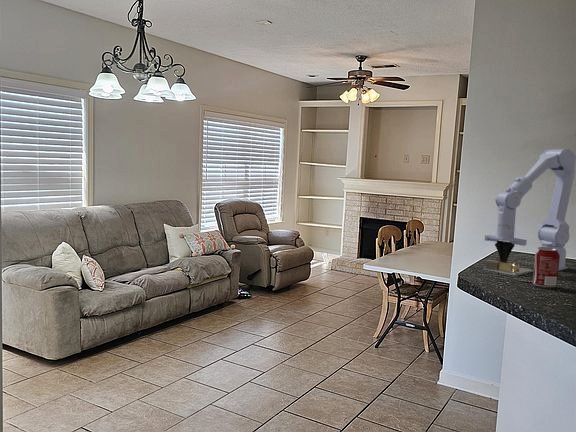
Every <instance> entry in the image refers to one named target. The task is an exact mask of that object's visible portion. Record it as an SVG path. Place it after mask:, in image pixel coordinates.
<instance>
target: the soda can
mask: <svg viewBox="0 0 576 432" xmlns="http://www.w3.org/2000/svg"><path fill="white" fill-rule="evenodd" d="M559 259H560V255H559V253H558V249H555V248H549V247H541V246H538V247H537V250H536V252H535V255H534V263H533V265H534V267H533V277H532V278H533V279H532V284H533V285H535V286H536V287H538V288H542V289H554V288H557V287H558V282H559V281H558V280H559V279H558V278H559V271H560V270H559ZM558 270H559V271H558Z"/></svg>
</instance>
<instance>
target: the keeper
mask: <svg viewBox="0 0 576 432" xmlns="http://www.w3.org/2000/svg"><path fill="white" fill-rule="evenodd" d="M485 262H486V263H485V264H486V265H485V267H486V269H492V270H500V271H506V272H507V270H502V269H498V264H499V263H495V262H489V261H487V260H486V261H485Z"/></svg>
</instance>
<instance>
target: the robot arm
mask: <svg viewBox="0 0 576 432" xmlns="http://www.w3.org/2000/svg"><path fill="white" fill-rule="evenodd" d="M575 164H576V154H575V153H574V151H573V150H571V149H570V148H564V149H563V148H561V149H560V148H559V149H558V148H557V149H551V148H549V149H546V150H544V151H543V153H542V154H540V155H539V159H538V160H537V161H536V162H535V163H534V165H533V166H532V167H531V168H530V169H529V171H528V172H526V174H525V175H524V176H519V177H516V178H515V179H514V182H513V183H512V184H511V185H509V186H508V187H507V188H506V189H505V191H502V192H500V193H499V194H498V195H497V197H496V199H495V204H496V206H497V211H498V213H497V214H498V215H497V228H496V230H497V231H496V235H493V234H492V235H490V234H486V235H484V241H488V242H489V241H491V242H494V247H495V248H496V250H497V253H498V256H499V261H500V262H507V263H508V259H509V257H510V254H511V252H512V250H513V249H514V247H515V245H519V246H521V247H522V246H523V247H525V246H527V240H528V239H524V238H523V239H522V238H518V237H517V238H516V237H515V229H516V226H515V225H516V215H517V214H516V212H517V208H518V207H520V205H521V204H522V203H521V202H522V199H523V198H524V197H525V195H526V194H527V193H528V192H530V190H531V189H532V188H533V183H534V181H536V180H537V179H538V178H539V177H540V176H541V175H542V174H544V173H545V172H546V171H547V170H551V171H552V172H553V174H555V176H556V178H555V179H556V180H555V185H554V188H553V194H552V198H551V203H550V206H549V207H550V208H549V211H548V216H547V218H546V219H544V220H543V221H541V226H540V228H539V229H538V230H537V237H538V239H539V241H540V244H541V246H540V247H549V248H555V249H558V253H559V255H560V259H559V270H558V272H559V271H563V270H566V269H568V266H566V259H567V258H566V256H567V251H566V248H565V246H566V244H567V243H568V242H569V239H570V225H569V224H568V223H567V221H566V216H567V211H568V206H569V201H570V196H571V193H572V190H573V189H572V188H573V184H574V179H575V173H576V172H575V171H576V169H575ZM495 242H496V243H495Z"/></svg>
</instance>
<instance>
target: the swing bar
mask: <svg viewBox="0 0 576 432" xmlns="http://www.w3.org/2000/svg"><path fill="white" fill-rule="evenodd" d="M487 261H489V262H495V263H499V264H498V269H502V270H507V271H513V272H519V268H521V267H520V264H519V263H518V262H513V263H511V262H508V261H507V262H500V260H499V261H498V260H494V259H486V262H487Z"/></svg>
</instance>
